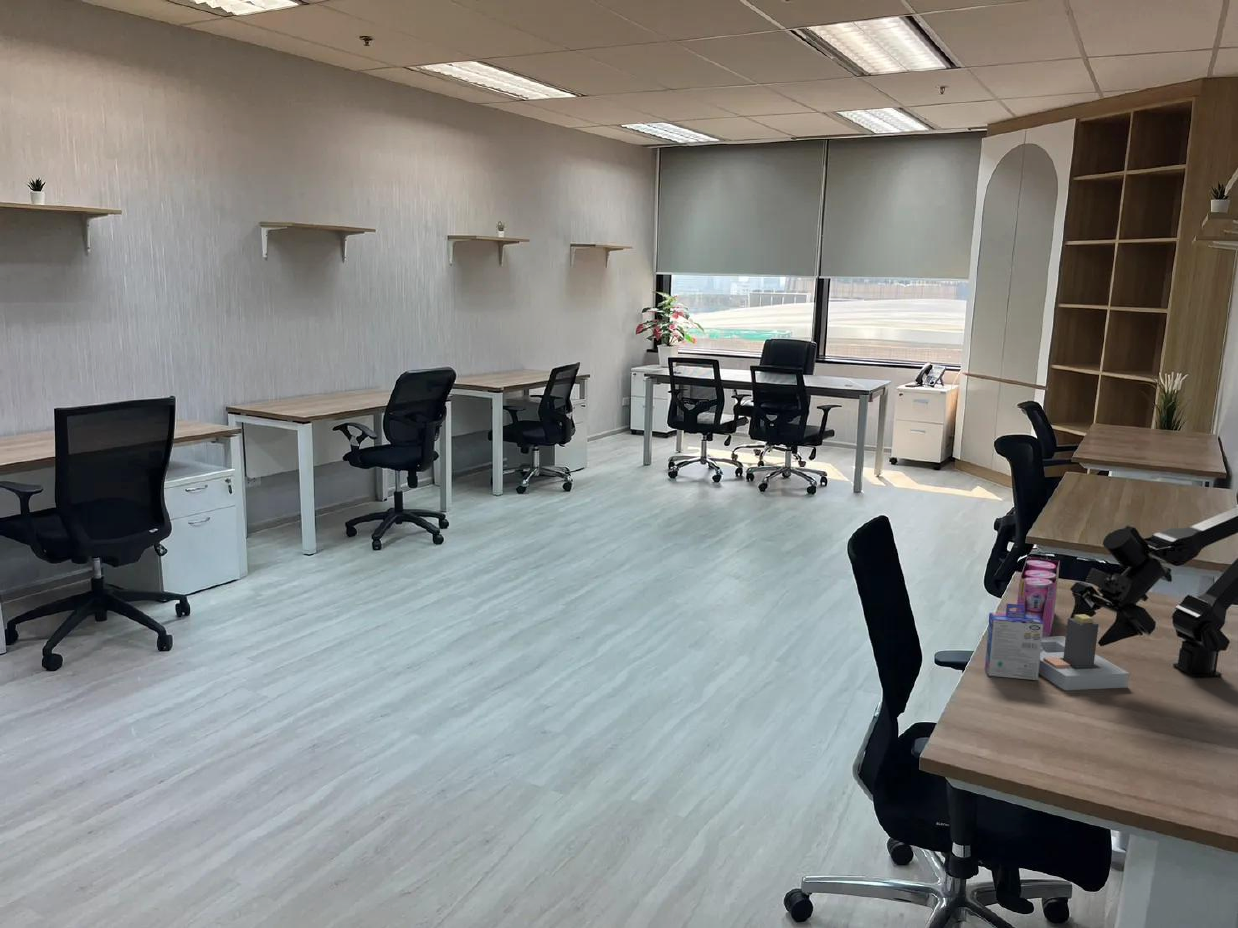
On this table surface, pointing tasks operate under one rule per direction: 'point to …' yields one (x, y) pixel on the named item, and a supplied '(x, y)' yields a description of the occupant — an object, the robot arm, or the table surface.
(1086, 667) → the plug
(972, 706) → the table surface
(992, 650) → the ink cartridge box
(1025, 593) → the gum box
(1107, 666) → the socket panel
